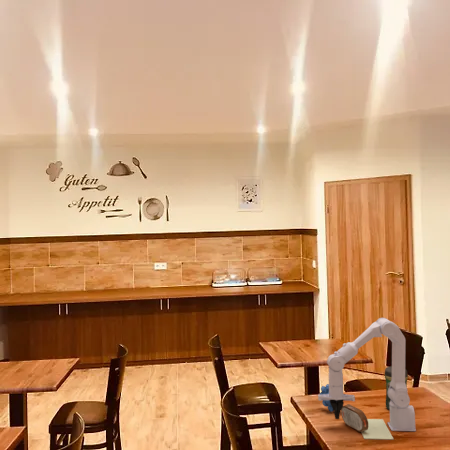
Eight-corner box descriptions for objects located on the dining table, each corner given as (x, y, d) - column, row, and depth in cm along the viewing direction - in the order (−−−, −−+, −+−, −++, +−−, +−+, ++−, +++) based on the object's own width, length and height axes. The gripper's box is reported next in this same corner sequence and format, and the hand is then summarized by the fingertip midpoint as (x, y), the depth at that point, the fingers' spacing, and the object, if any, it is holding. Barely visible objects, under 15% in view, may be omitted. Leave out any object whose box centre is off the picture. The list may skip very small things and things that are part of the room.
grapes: (315, 411, 220) (314, 384, 220) (323, 407, 224) (322, 381, 225) (337, 417, 212) (336, 389, 212) (345, 413, 216) (345, 386, 217)
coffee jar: (412, 409, 218) (410, 368, 219) (402, 414, 213) (401, 371, 214) (392, 404, 226) (391, 364, 226) (382, 408, 221) (381, 367, 221)
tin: (369, 433, 193) (368, 412, 193) (363, 435, 192) (361, 413, 192) (347, 421, 207) (345, 401, 207) (340, 423, 206) (339, 402, 206)
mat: (382, 419, 208) (382, 419, 208) (393, 439, 188) (393, 438, 188) (356, 419, 209) (356, 418, 209) (364, 439, 189) (364, 438, 189)
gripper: (352, 381, 204) (353, 414, 203) (317, 381, 205) (318, 414, 205) (355, 387, 197) (356, 421, 196) (318, 386, 198) (319, 420, 198)
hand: (336, 418), depth 200 cm, fingers closed
